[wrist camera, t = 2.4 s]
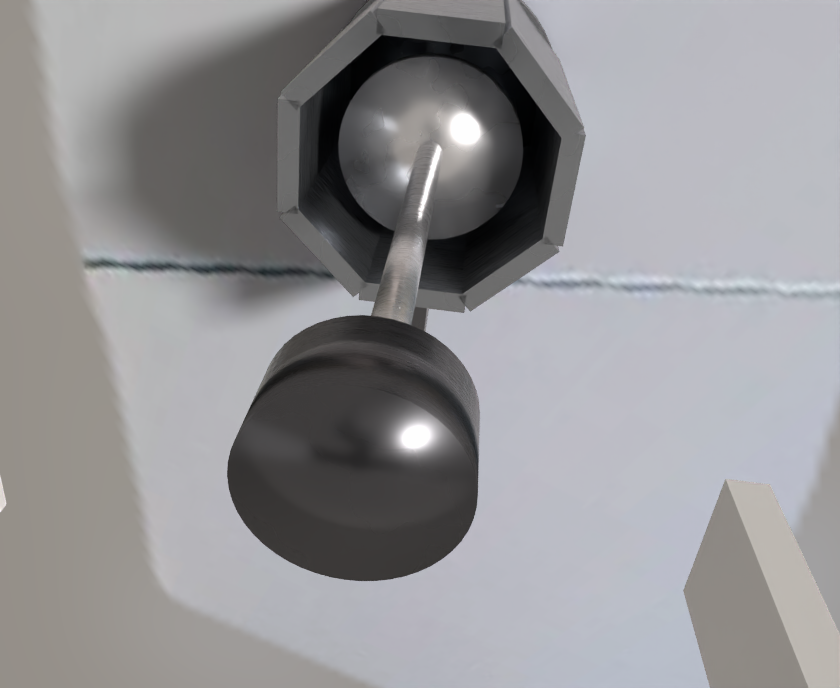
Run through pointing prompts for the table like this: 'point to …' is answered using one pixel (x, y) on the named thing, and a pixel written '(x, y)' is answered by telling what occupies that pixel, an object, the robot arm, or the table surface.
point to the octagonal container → (444, 258)
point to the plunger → (384, 346)
